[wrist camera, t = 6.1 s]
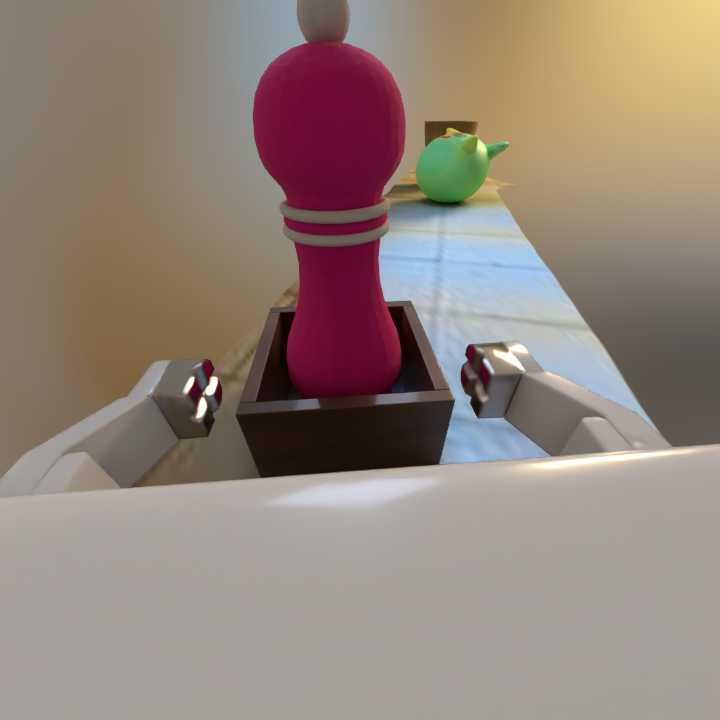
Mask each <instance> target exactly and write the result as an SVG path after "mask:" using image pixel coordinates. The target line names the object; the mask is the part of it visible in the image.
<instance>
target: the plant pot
mask: <svg viewBox="0 0 720 720" xmlns="http://www.w3.org/2000/svg"><path fill="white" fill-rule="evenodd" d="M478 122H479V121H425V148H426V146H427V145H428V144H429V143H431V142H432V141H433V140H435V139H436V138H438V137H440V136H443V135H446V134H447V132H446V129H447V128H452V129H455V130H457V131H459V132H461V133H468V134H471V135H472V136H473V135H475V132H476V129H477V125H478Z"/></svg>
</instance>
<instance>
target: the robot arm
mask: <svg viewBox="0 0 720 720" xmlns="http://www.w3.org/2000/svg"><path fill="white" fill-rule="evenodd" d="M465 355H466V357H467V359H468V361H467V362H466V363H464V364H463V365H462V370H461V383H462V387H463V389H464V391H465V393H466V394H468V395H469V396H471V397H472V398H471V402H470V404H471V406H472V408H473V410H474V412H475V414H476V416H477V418H478V419H479V418H503V417H505V418H504V419H505V420H507V421H508V422H509V423H510V424H512V425H513V426H514V427H515V428H517V429H518V430H519V431H520V432H522V433H523V434H524V435H525V436H527V437H528V438H529V439H531V440H532V441H533V442H534V443H536V444H537V445H538V446H539V447H541V448H542V449H543V450H544V451H546V452H547V453H548V454H549V455H551V457H538V458H524V459H511V460H497V461H484V462H470V463H457V464H443V465H430V466H417V467H403V468H390V469H376V470H363V471H349V472H336V473H323V474H309V475H296V476H282V477H269V478H255V479H242V480H229V481H215V482H202V483H188V484H175V485H162V486H148V487H135V488H130V487H131V486H132V485H134V484H135V483H136V482H137V481H138V480H139V479H140V478H141V477H142V476H143V475H144V474H145V473H146V472H147V471H148V470H149V469H150V468H151V467H152V466H153V465H154V464H156V463H157V462H158V461H159V460H160V459H161V458H162V457H163V456H164V455H165V454H166V453H167V452H168V451H169V450H170V449H171V448H172V447H173V446H174V445H175V444H176V443H178V442H179V439H190V438H201V437H208V435H209V433H210V430H211V428H212V425H213V423H214V420H215V419H214V417H213V415H212V414H213V413H214V412H216V411H217V410H218V409H219V408H220V405H221V402H222V388H221V384H220V381H219V380H218V379H217V378H215V377H214V376H213V375H212V373H213V371H214V367H213V365H212V363H211V361H210V360H208V359H185V360H163V361H156V362H153V363H152V365H151V366H150V367H149V369H148V370H147V371H146V373H145V374H144V375H143V377H142V378H141V379H140V381H139V382H138V383H137V385H136V386H135V387H134V389H133V390H132V391H131V392H130V394H129V395H128V396H127V398H120V399H118V400H117V401H115V402H113V403H112V404H110V405H108V406H106V407H105V408H103V409H101V410H100V411H98V412H96V413H94V414H93V415H91V416H89V417H88V418H86V419H84V420H82V421H81V422H79V423H77V424H75V425H74V426H72V427H70V428H69V429H67V430H65V431H64V432H62V433H60V434H58V435H56V436H55V437H53V438H51V439H50V440H48V441H46V442H44V443H43V444H41V445H39V446H37V447H36V448H34V449H32V450H31V451H29V452H27V453H25V454H24V455H23V456H22V457H21V458H20V459H19V460H18V461H17V462H16V463H15V464H14V465H13V467H11V469H10V470H9V471H8V472H7V473H6V474H5V475H4V476H3V477H2V478H1V479H0V720H720V444H713V445H700V446H687V447H686V446H685V447H672V446H671V445H670V444H669V443H668V442H667V441H666V440H665V439H664V438H663V437H662V436H661V435H660V434H659V433H658V432H656V431H655V430H654V429H653V428H652V427H651V426H650V425H649V424H648V423H647V422H646V421H645V420H644V419H643V418H642V417H641V416H640V415H639V414H638V413H636V412H634V411H632V410H630V409H628V408H625V407H623V406H621V405H619V404H617V403H615V402H613V401H611V400H609V399H606V398H604V397H602V396H600V395H598V394H596V393H594V392H592V391H590V390H587V389H585V388H583V387H581V386H579V385H577V384H575V383H573V382H571V381H568V380H566V379H564V378H562V377H560V376H558V375H556V374H554V373H552V372H545V371H544V370H543V369H542V368H541V367H540V365H539V364H538V363H537V362H536V361H535V360H534V358H533V357H532V356H531V355H530V354H529V353H528V351H527V350H526V349H525V348H524V347H523V346H522V344H521V343H520V342H518V341H505V342H498V343H482V344H469V345H468V347H467V349H466V353H465Z"/></svg>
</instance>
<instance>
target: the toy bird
mask: <svg viewBox="0 0 720 720" xmlns="http://www.w3.org/2000/svg"><path fill="white" fill-rule="evenodd" d="M446 132H447V134H446V135H443V136H440V137H438V138H436V139H435V140H433V141H432V142H431V143H429V144H428V145H427V146H426V148H425V149H424V150H423V152H422V153H421V155H420V158H419V160H418V163H417V167H416V179H417V183H418V186H419V188H420V189H421V191H422V192H423V193H424V194H425V195H426V196H427V197H429V198H431V199H433V200H435V201H438V202H444V203H452V202H458V201H462V200H464V199H466V198H468V197H470V196H471V195H473V194H474V193H475V192H476V191H477V190H478V189H479V188H480V187H481V185H482V184H483V182H484V181H485V179H486V176H487V174H488V170H489V164H490V160H491V159H492V158H493V157H495V156H496V155H498V154H499V153H501V152H502V151H503V150H505V149H506V148H507V147H508V145H509V143H508V142H498V143H493V144H487V145H484V144H483V143H482V142H481V141H480V140H479V139H478V136H477V135H473V136H472V135H471V134H468V133H461V132H459V131H457V130H455V129H452V128H447V129H446Z"/></svg>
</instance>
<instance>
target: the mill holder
mask: <svg viewBox="0 0 720 720" xmlns="http://www.w3.org/2000/svg"><path fill="white" fill-rule="evenodd" d="M385 303H386V305H387V308H388V311H389V313H390V315H391V318H392V320H393V322H394V325H395V327H396V329H397V333H398V337H399V341H400V346H401V370H400V371H401V375H402V378H403V382H404V386H405V389H406V393H391V394H375V395H360V396H345V397H329V398H314V399H299V400H287V395H288V389H289V383H290V376H289V373H288V365H287V357H286V356H287V344H288V336H289V333H290V330H291V327H292V323H293V320H294V317H295V313H296V309H297V306H295V307H276V308H271V309H270V312H269V314H268V317H267V321H266V324H265V327H264V330H263V333H262V336H261V339H260V342H259V345H258V348H257V351H256V354H255V357H254V360H253V363H252V366H251V369H250V372H249V375H248V378H247V381H246V384H245V388H244V391H243V394H242V397H241V400H240V404H239V406H238V409H237V412H236V417H237V420H238V422H239V425H240V427H241V430H242V432H243V434H244V437H245V439H246V442H247V444H248V447H249V449H250V452H251V454H252V457H253V459H254V462H255V464H256V467H257V469H258V472H259V474H260V477H261V478H266V477H280V476H293V475H306V474H319V473H332V472H345V471H358V470H371V469H384V468H397V467H410V466H423V465H436V464H439V463H440V459H441V455H442V451H443V447H444V443H445V439H446V434H447V430H448V426H449V422H450V418H451V414H452V410H453V406H454V402H455V399H454V397H453V395H452V392H451V390H450V388H449V385H448V383H447V381H446V379H445V376H444V374H443V372H442V370H441V367H440V365H439V363H438V361H437V358H436V356H435V354H434V352H433V349H432V347H431V345H430V343H429V340H428V338H427V336H426V334H425V331H424V329H423V327H422V325H421V322H420V320H419V318H418V316H417V313H416V311H415V309H414V307H413V304H412V302H411V301H393V302H385Z"/></svg>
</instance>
